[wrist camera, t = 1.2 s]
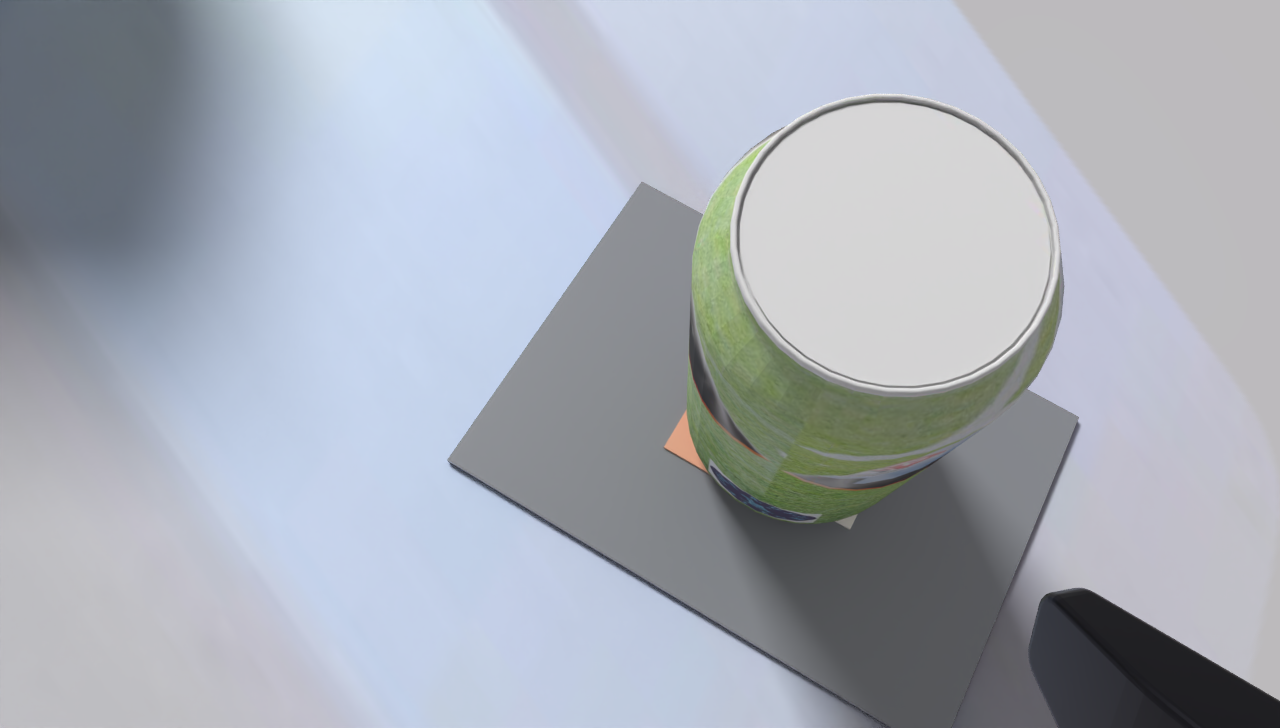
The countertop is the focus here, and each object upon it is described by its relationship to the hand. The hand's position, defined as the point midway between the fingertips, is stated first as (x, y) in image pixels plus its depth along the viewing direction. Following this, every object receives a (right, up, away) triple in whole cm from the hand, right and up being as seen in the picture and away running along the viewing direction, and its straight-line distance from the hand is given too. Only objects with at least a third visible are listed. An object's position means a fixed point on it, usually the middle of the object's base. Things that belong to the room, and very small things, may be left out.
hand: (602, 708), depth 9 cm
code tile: (+4, +1, +16) cm, 17 cm away
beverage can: (+4, +1, +16) cm, 17 cm away
